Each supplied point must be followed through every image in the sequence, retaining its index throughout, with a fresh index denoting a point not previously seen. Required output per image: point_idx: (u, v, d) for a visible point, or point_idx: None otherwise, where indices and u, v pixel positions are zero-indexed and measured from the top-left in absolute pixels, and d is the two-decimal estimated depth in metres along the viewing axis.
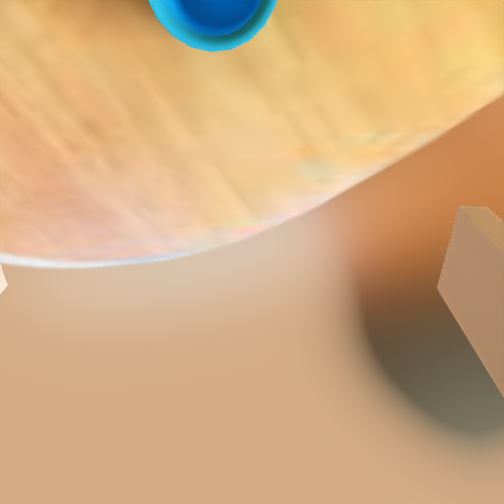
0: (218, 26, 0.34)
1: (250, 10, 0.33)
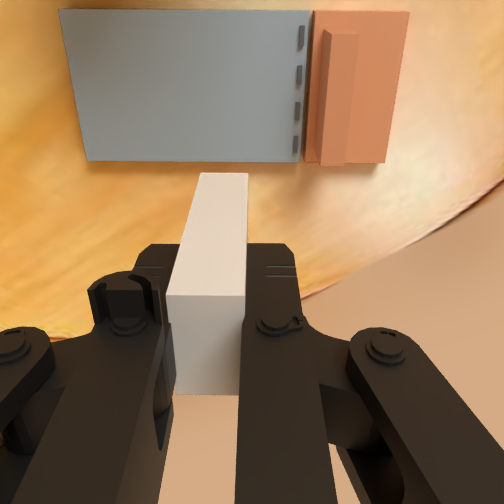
0: None
1: None
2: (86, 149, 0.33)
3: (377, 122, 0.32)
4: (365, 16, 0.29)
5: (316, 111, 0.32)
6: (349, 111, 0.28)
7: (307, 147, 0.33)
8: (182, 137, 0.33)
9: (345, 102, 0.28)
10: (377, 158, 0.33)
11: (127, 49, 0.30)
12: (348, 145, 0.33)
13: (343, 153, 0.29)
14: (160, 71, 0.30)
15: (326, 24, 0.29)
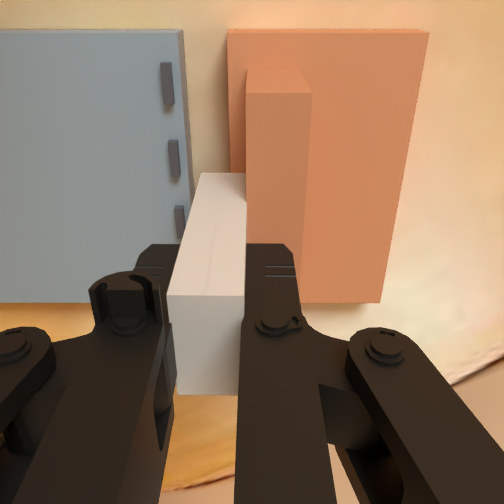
0: None
1: None
2: None
3: (364, 238, 0.17)
4: (334, 42, 0.13)
5: None
6: (299, 251, 0.13)
7: None
8: None
9: (289, 234, 0.13)
10: (366, 296, 0.18)
11: None
12: (311, 276, 0.18)
13: None
14: None
15: (253, 59, 0.14)
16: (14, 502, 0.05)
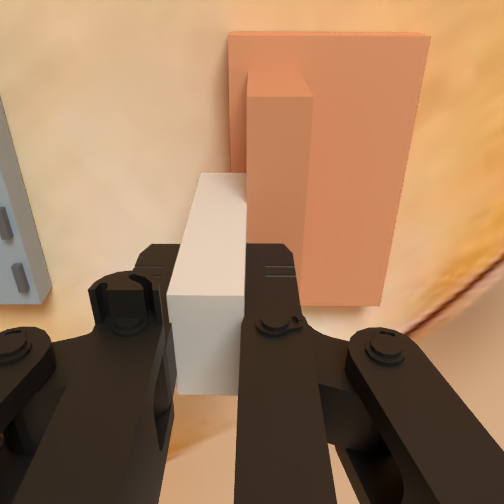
0: None
1: None
2: None
3: (364, 241, 0.17)
4: (335, 45, 0.13)
5: None
6: (299, 254, 0.13)
7: None
8: None
9: (289, 238, 0.13)
10: (366, 299, 0.18)
11: None
12: (311, 279, 0.18)
13: None
14: None
15: (253, 62, 0.14)
16: (14, 502, 0.05)
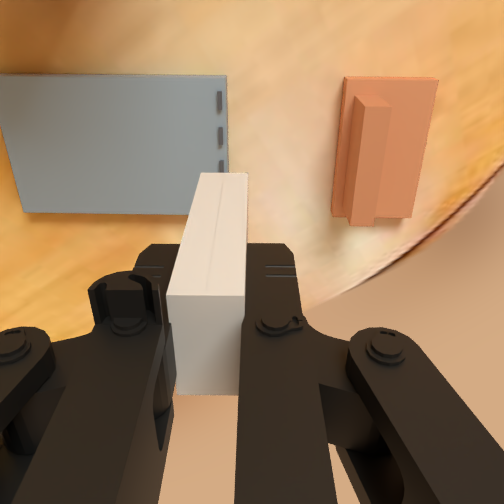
0: None
1: None
2: (22, 202, 0.34)
3: (404, 180, 0.33)
4: (395, 84, 0.30)
5: (345, 170, 0.33)
6: (380, 176, 0.29)
7: (335, 203, 0.34)
8: (113, 191, 0.34)
9: (376, 168, 0.29)
10: (404, 213, 0.34)
11: (55, 111, 0.31)
12: None
13: (373, 214, 0.30)
14: (88, 131, 0.32)
15: (357, 91, 0.30)
16: (14, 502, 0.05)
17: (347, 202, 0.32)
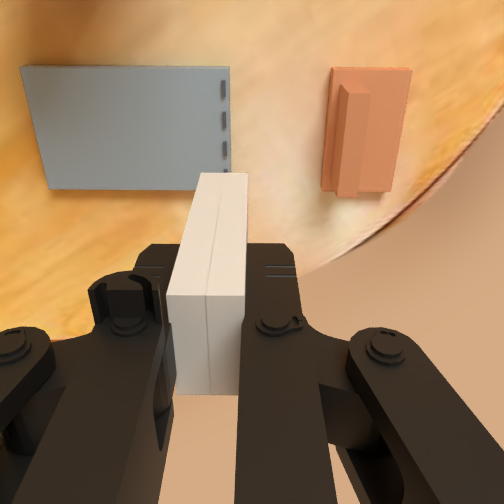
0: None
1: None
2: (48, 179, 0.39)
3: (384, 158, 0.38)
4: (375, 73, 0.34)
5: (333, 149, 0.37)
6: (362, 153, 0.34)
7: (324, 179, 0.39)
8: (129, 169, 0.38)
9: (359, 146, 0.34)
10: (384, 188, 0.39)
11: (78, 98, 0.35)
12: (359, 177, 0.39)
13: (356, 187, 0.35)
14: (107, 116, 0.36)
15: (343, 80, 0.35)
16: (14, 502, 0.05)
17: (334, 177, 0.37)
